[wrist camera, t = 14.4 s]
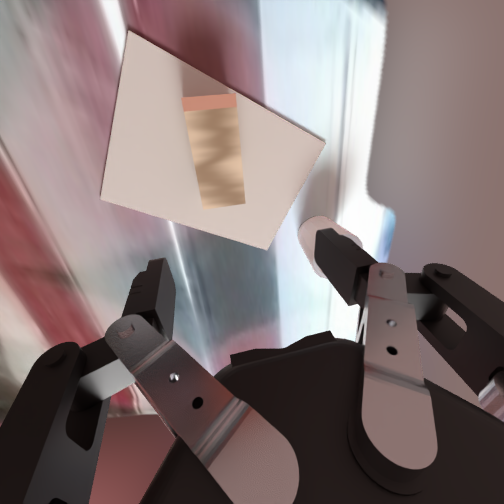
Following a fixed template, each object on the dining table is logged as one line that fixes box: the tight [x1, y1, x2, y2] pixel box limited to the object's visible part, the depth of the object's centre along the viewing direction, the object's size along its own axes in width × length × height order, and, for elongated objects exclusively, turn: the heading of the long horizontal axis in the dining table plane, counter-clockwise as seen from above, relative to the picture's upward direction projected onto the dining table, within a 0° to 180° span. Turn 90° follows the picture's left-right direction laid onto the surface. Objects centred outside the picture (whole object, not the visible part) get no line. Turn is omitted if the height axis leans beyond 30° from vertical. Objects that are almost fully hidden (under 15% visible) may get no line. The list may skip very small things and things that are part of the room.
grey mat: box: [100, 30, 326, 250], centre depth 28 cm, size 22×16×1 cm
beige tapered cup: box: [298, 216, 363, 279], centre depth 33 cm, size 7×7×7 cm
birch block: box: [181, 93, 246, 210], centre depth 25 cm, size 5×5×10 cm
